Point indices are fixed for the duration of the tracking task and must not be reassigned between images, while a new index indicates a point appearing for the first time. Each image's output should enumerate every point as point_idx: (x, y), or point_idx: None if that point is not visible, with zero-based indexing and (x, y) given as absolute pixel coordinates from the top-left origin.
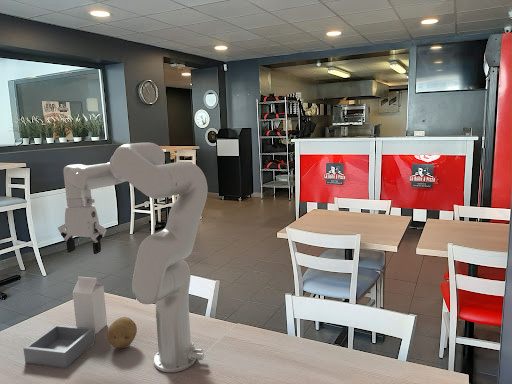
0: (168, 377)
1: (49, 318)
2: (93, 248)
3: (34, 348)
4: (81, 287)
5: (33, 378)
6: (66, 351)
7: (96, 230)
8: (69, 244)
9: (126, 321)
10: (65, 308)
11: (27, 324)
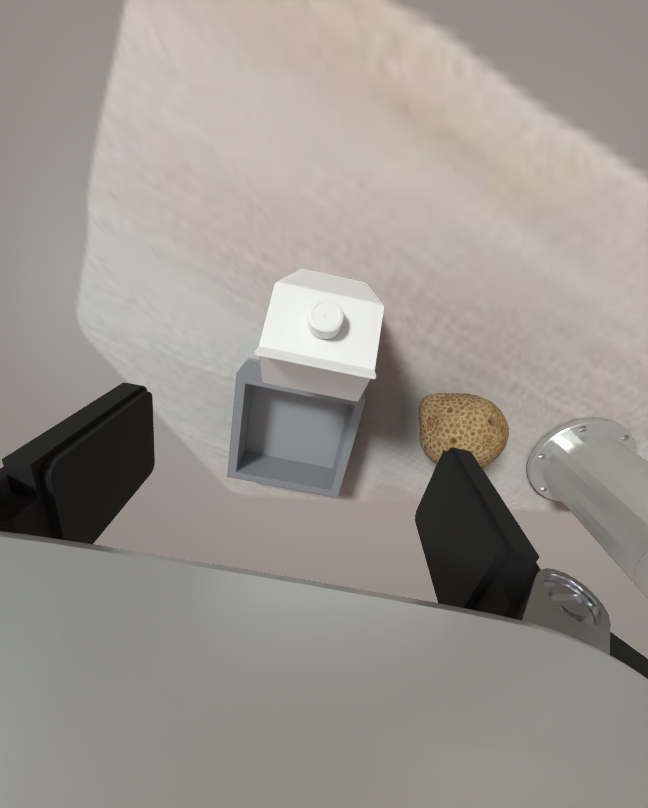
0: (554, 506)
1: (138, 225)
2: (434, 569)
3: (254, 479)
4: (298, 377)
5: (287, 495)
6: (338, 493)
7: (597, 704)
8: (99, 524)
9: (492, 457)
10: (140, 127)
11: (96, 269)
